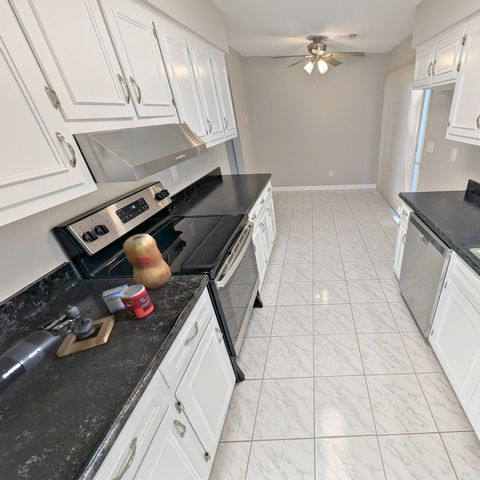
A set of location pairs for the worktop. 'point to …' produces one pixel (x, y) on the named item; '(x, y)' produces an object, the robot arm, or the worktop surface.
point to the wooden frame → (71, 346)
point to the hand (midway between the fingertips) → (84, 310)
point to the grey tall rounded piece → (72, 313)
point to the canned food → (136, 301)
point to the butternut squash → (146, 261)
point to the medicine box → (114, 298)
